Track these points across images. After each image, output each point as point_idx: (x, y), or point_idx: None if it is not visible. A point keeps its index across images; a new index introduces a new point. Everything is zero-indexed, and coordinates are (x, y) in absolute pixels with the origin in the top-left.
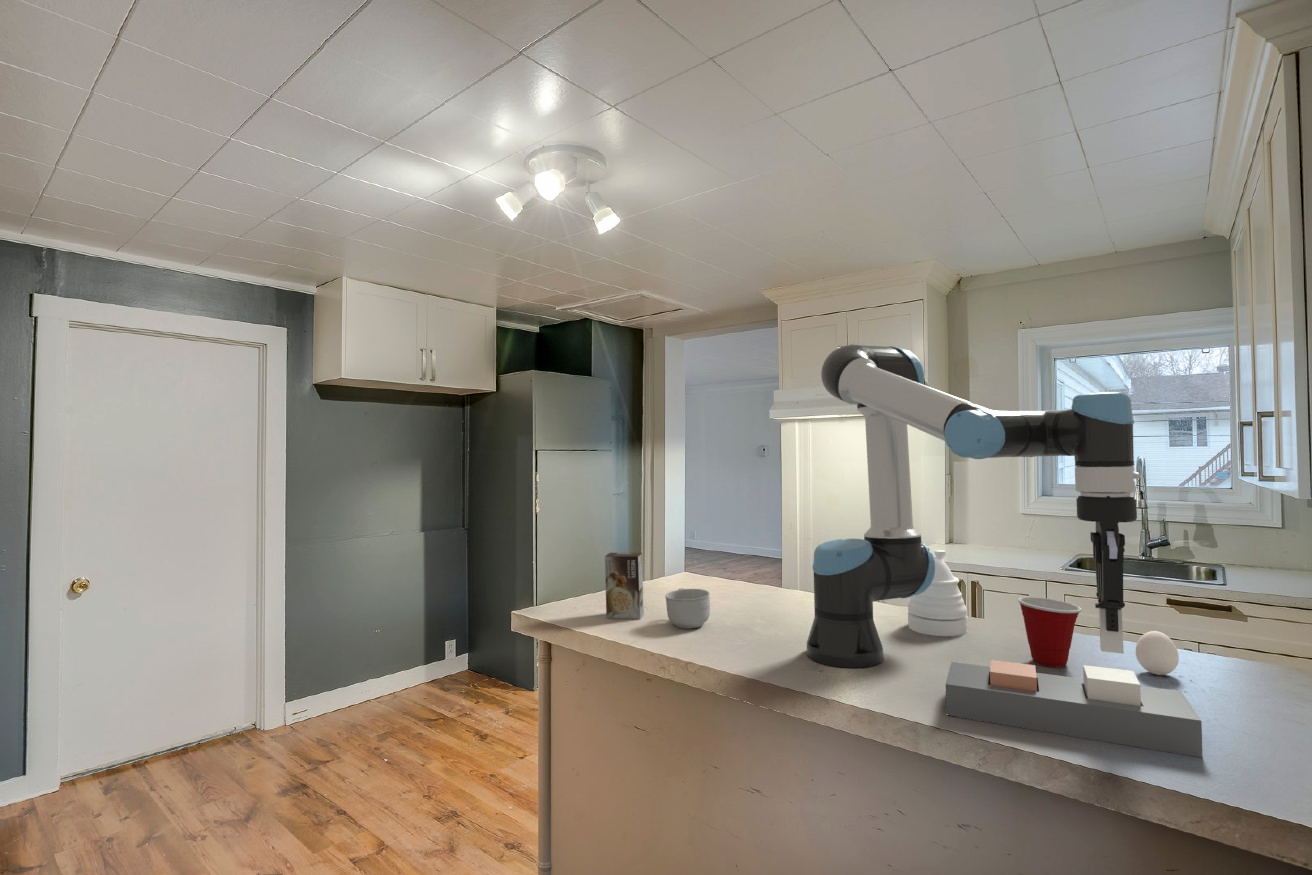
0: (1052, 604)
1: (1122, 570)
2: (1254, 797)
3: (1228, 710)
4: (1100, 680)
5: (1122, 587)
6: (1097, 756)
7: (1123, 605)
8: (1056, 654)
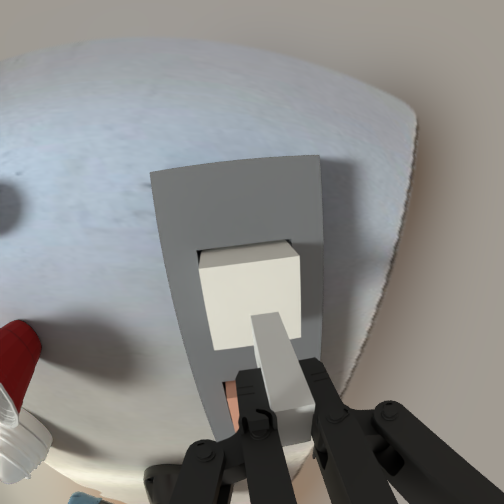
0: None
1: (496, 489)
2: (386, 128)
3: (64, 115)
4: (299, 318)
5: (453, 450)
6: (355, 276)
7: (393, 406)
8: (28, 342)
